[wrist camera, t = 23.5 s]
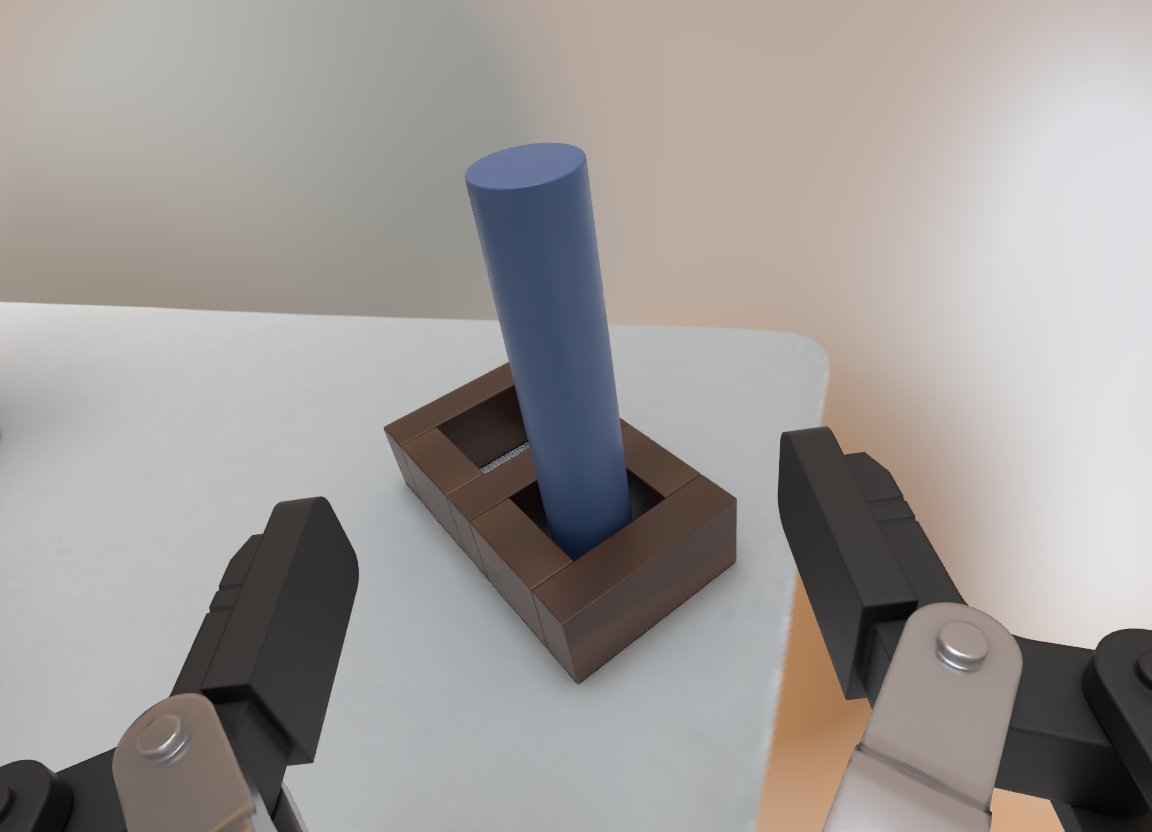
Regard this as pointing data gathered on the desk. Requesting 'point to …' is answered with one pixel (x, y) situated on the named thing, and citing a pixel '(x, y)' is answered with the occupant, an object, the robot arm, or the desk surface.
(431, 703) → the desk surface
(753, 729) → the desk surface
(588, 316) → the peg
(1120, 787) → the robot arm
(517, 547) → the frame
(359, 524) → the desk surface
